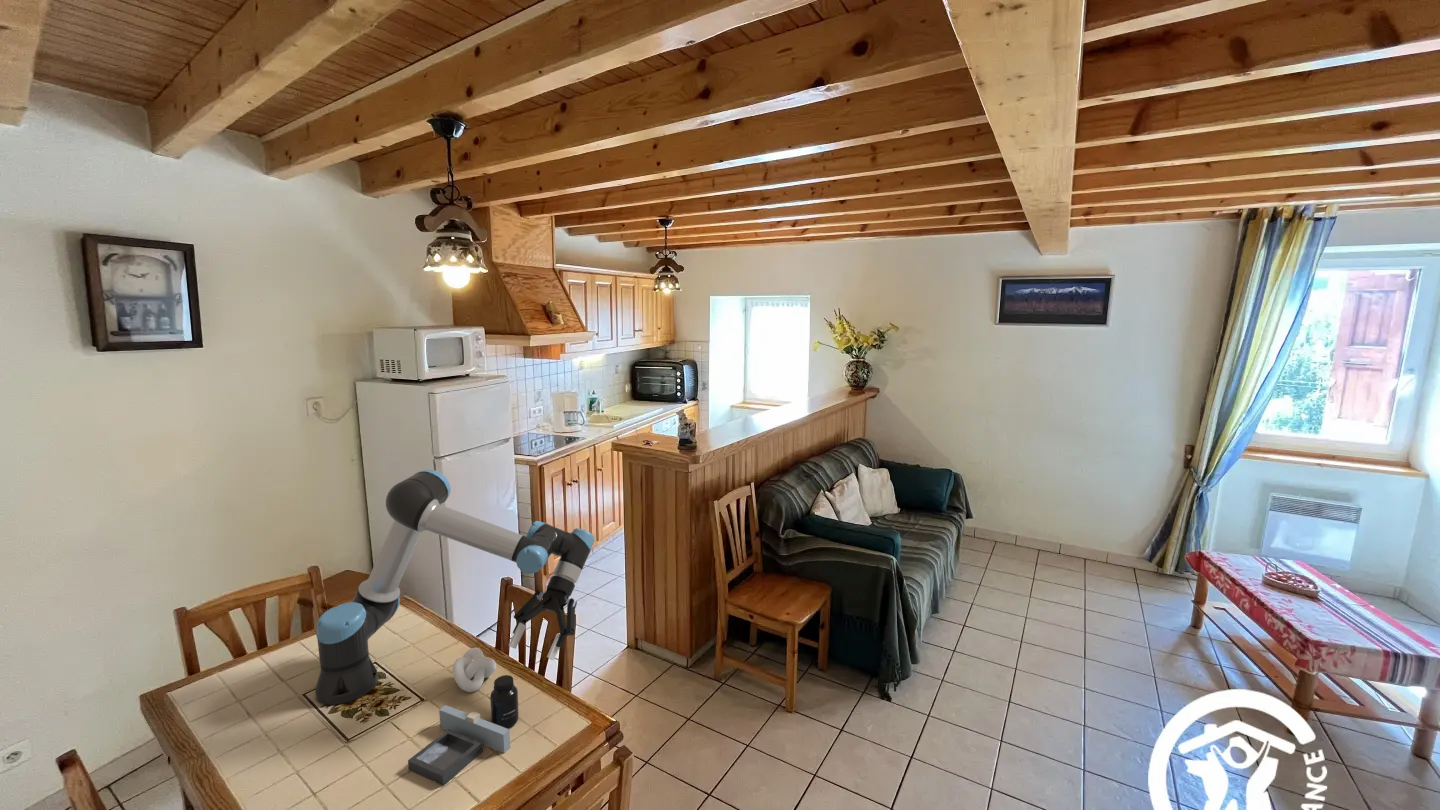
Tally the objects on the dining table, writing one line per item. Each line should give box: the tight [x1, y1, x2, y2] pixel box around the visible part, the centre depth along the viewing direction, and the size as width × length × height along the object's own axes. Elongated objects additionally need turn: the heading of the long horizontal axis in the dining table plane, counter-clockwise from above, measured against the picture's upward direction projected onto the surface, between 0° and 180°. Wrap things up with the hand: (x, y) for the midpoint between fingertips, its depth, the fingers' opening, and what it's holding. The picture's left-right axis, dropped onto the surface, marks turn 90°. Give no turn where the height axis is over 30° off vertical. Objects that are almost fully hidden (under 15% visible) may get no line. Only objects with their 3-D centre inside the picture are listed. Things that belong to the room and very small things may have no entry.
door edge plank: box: [438, 704, 511, 754], centre depth 143 cm, size 22×2×6 cm, turn 66°
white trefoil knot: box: [452, 647, 497, 693], centre depth 165 cm, size 11×12×9 cm
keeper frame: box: [407, 729, 484, 787], centre depth 136 cm, size 12×12×2 cm
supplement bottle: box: [489, 674, 519, 729], centre depth 149 cm, size 7×7×12 cm
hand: (530, 653), depth 156 cm, fingers open, 13 cm apart
